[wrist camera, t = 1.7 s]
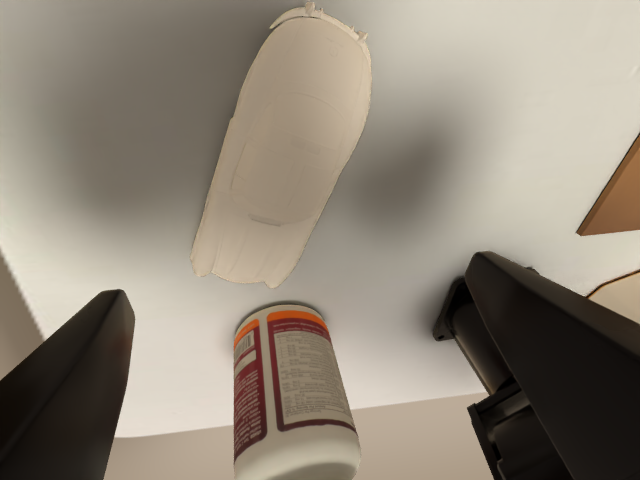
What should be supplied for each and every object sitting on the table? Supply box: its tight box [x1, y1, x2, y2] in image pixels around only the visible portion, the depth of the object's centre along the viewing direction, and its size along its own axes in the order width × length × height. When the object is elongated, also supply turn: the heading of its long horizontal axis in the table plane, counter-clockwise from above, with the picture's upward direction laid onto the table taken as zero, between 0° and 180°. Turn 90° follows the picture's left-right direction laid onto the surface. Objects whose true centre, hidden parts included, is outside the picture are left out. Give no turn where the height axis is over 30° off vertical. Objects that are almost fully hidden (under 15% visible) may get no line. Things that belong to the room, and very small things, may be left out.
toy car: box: [190, 2, 372, 289], centre depth 13 cm, size 5×12×4 cm, turn 155°
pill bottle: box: [234, 305, 361, 480], centre depth 17 cm, size 6×6×11 cm
